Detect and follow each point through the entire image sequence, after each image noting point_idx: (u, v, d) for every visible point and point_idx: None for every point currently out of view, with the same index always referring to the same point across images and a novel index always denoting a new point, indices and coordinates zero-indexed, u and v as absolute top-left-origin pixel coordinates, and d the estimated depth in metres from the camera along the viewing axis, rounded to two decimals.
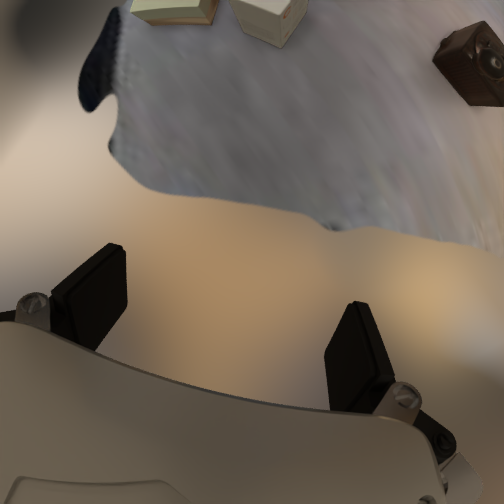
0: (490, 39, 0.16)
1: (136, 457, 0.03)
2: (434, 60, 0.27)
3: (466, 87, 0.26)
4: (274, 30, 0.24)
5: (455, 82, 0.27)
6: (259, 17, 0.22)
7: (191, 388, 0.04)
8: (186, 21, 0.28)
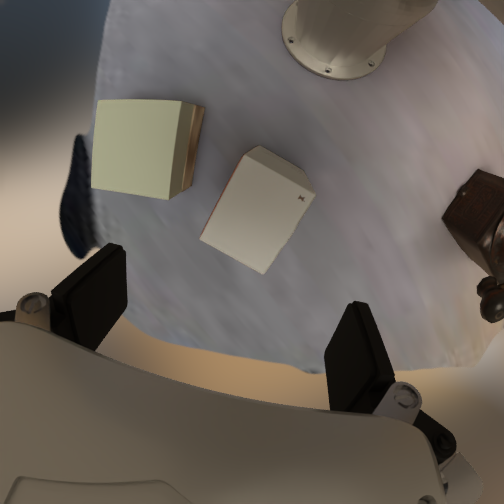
0: None
1: (136, 457, 0.03)
2: (444, 220, 0.31)
3: (470, 253, 0.30)
4: None
5: (459, 243, 0.31)
6: None
7: (191, 388, 0.04)
8: None
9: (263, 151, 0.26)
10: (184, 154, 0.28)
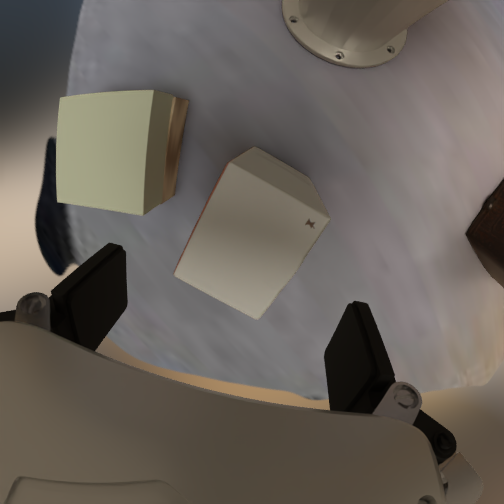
0: None
1: (136, 457, 0.03)
2: (468, 235, 0.25)
3: (494, 273, 0.24)
4: None
5: (483, 261, 0.26)
6: None
7: (191, 388, 0.04)
8: None
9: (259, 155, 0.20)
10: (162, 157, 0.22)
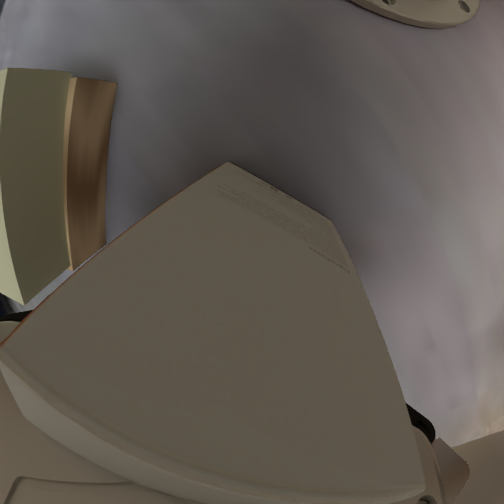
0: None
1: None
2: None
3: None
4: None
5: None
6: None
7: None
8: None
9: (224, 191, 0.09)
10: (55, 190, 0.10)
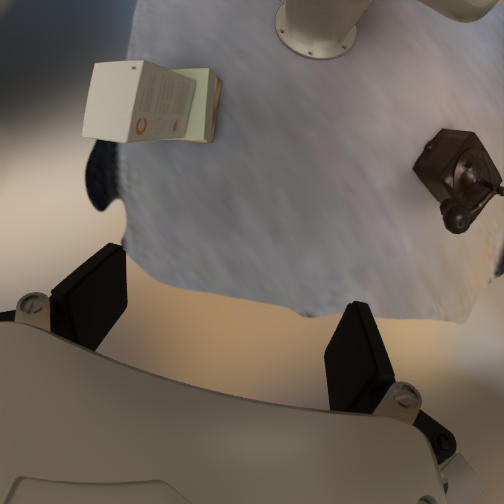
0: (474, 158, 0.27)
1: (136, 457, 0.03)
2: (414, 169, 0.38)
3: (440, 197, 0.37)
4: None
5: (431, 190, 0.38)
6: None
7: (191, 388, 0.04)
8: None
9: None
10: (212, 109, 0.35)
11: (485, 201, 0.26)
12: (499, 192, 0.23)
